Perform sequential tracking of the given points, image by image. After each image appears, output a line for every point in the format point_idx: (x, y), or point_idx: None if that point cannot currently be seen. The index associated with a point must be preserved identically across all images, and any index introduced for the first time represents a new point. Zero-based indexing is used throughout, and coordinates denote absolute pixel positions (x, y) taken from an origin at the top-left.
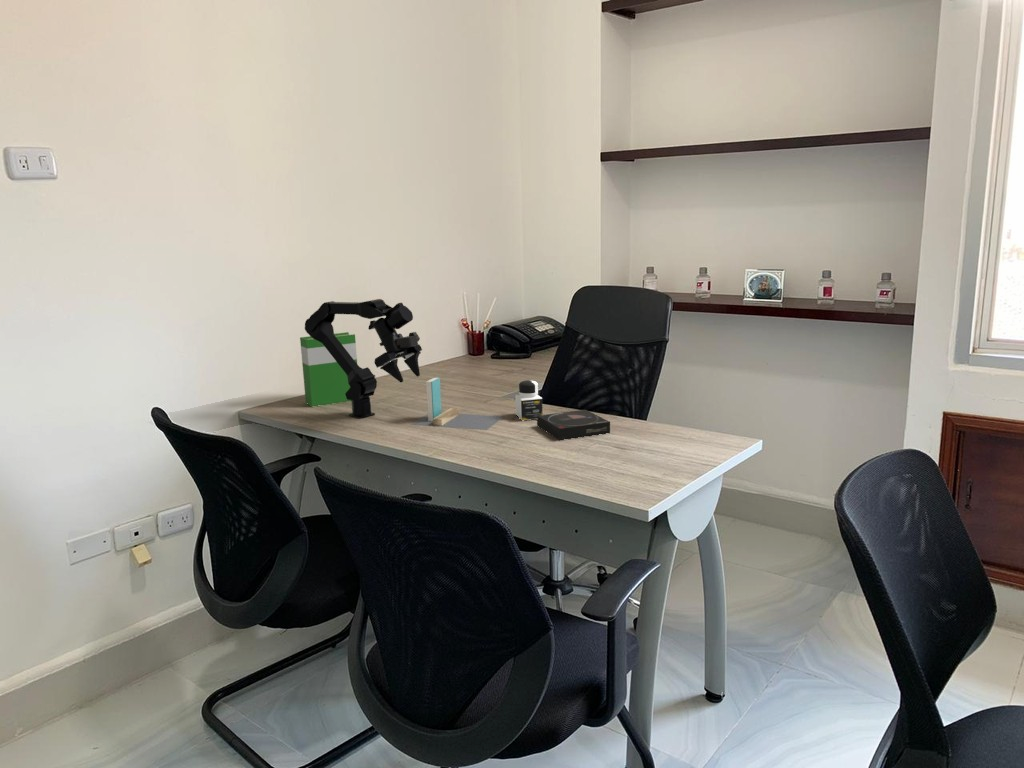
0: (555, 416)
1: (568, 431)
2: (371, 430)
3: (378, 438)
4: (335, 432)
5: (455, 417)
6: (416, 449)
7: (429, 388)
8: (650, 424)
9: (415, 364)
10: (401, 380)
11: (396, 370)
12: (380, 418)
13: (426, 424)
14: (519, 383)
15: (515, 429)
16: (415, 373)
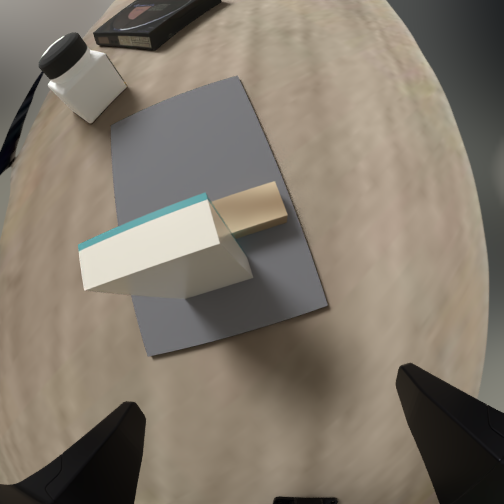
0: (145, 20)
1: None
2: None
3: (465, 281)
4: None
5: None
6: (446, 130)
7: (224, 232)
8: (109, 10)
9: (84, 478)
10: (417, 373)
11: (502, 415)
12: (300, 462)
13: (294, 249)
14: (59, 54)
15: (191, 56)
16: (138, 442)
